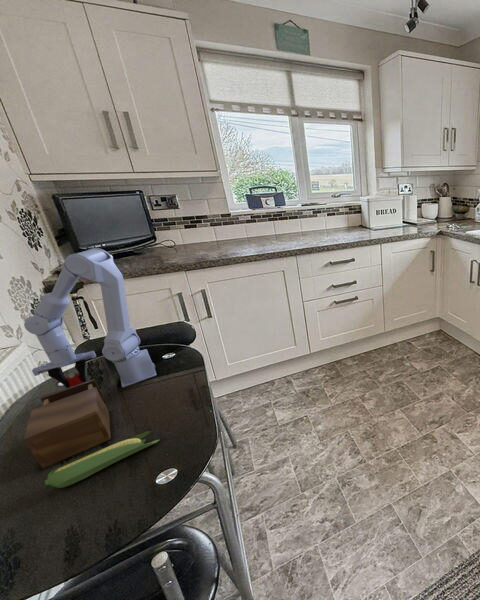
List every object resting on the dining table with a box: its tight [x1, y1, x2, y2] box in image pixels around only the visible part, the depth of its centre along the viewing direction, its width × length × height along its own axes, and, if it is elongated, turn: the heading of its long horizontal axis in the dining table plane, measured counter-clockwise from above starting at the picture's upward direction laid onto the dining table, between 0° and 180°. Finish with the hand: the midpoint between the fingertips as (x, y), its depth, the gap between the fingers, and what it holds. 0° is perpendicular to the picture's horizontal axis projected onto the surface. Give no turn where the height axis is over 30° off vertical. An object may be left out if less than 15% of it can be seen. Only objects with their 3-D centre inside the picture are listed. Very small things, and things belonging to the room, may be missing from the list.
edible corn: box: [44, 430, 161, 489], centre depth 76 cm, size 5×20×5 cm, turn 130°
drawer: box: [40, 378, 106, 406], centre depth 92 cm, size 18×11×7 cm, turn 42°
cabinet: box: [23, 387, 112, 469], centre depth 84 cm, size 15×13×9 cm
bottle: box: [65, 371, 83, 387], centre depth 108 cm, size 4×4×6 cm
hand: (76, 384), depth 108 cm, fingers closed on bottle, 3 cm apart
